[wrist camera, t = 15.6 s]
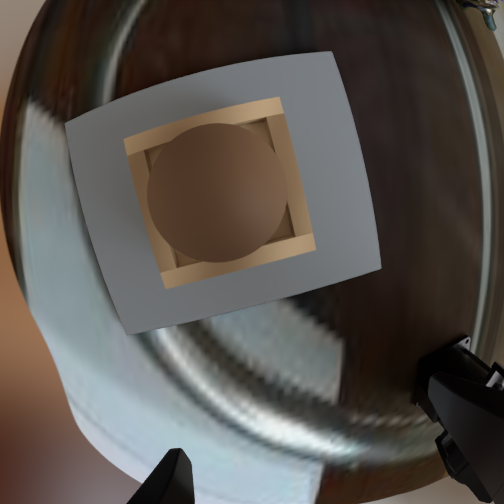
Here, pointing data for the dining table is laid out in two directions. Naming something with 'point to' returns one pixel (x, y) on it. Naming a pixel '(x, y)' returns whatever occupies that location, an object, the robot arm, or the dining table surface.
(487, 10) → the passion flower
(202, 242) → the walnut peg
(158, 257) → the oak socket block
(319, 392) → the dining table surface
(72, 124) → the grey rectangular plate
